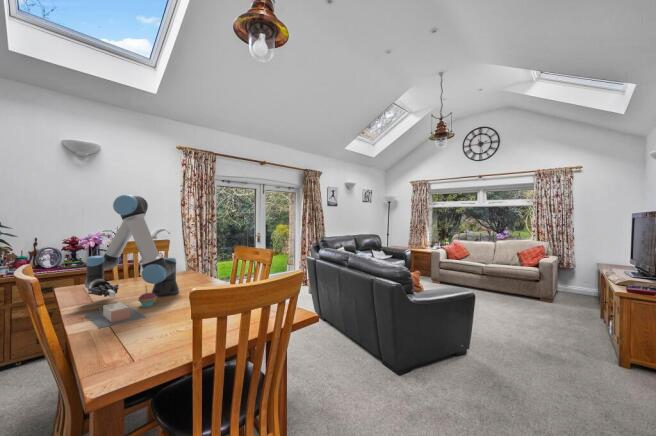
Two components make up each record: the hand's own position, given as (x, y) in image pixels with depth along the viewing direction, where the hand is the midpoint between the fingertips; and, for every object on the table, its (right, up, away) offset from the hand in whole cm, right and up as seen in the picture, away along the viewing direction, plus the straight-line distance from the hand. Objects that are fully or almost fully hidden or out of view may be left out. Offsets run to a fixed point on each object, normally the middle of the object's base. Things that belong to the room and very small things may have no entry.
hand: (113, 294), depth 133 cm
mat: (-1, -11, +1) cm, 11 cm away
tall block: (-3, -8, +3) cm, 9 cm away
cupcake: (+6, -11, +16) cm, 21 cm away
